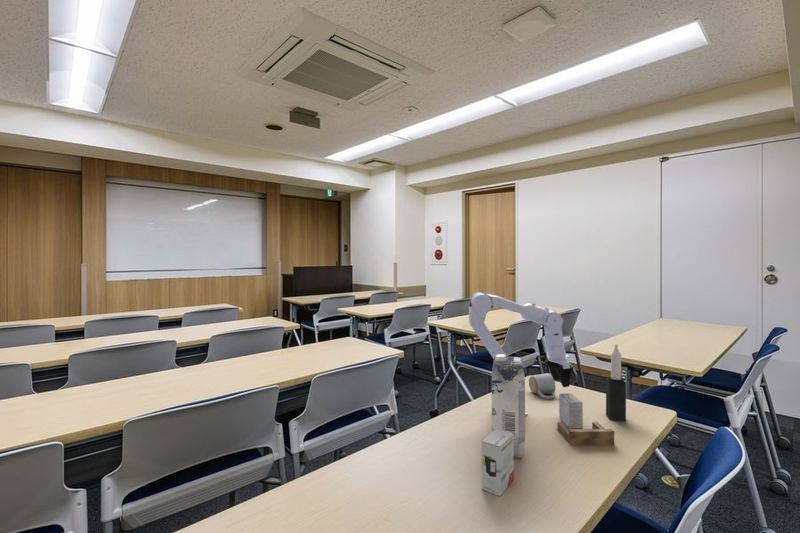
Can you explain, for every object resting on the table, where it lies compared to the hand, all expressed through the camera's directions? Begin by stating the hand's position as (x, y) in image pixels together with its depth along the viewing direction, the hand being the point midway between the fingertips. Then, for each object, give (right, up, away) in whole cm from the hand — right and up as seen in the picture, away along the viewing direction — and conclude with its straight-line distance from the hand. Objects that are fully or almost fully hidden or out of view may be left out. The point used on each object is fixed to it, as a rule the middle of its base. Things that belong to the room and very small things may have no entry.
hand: (561, 382), depth 131 cm
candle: (+16, -10, -5) cm, 20 cm away
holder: (-1, -11, -18) cm, 21 cm away
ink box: (-33, -12, -41) cm, 54 cm away
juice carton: (-26, -12, -25) cm, 37 cm away
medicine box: (-1, -11, -9) cm, 14 cm away
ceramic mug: (0, -10, +17) cm, 20 cm away
